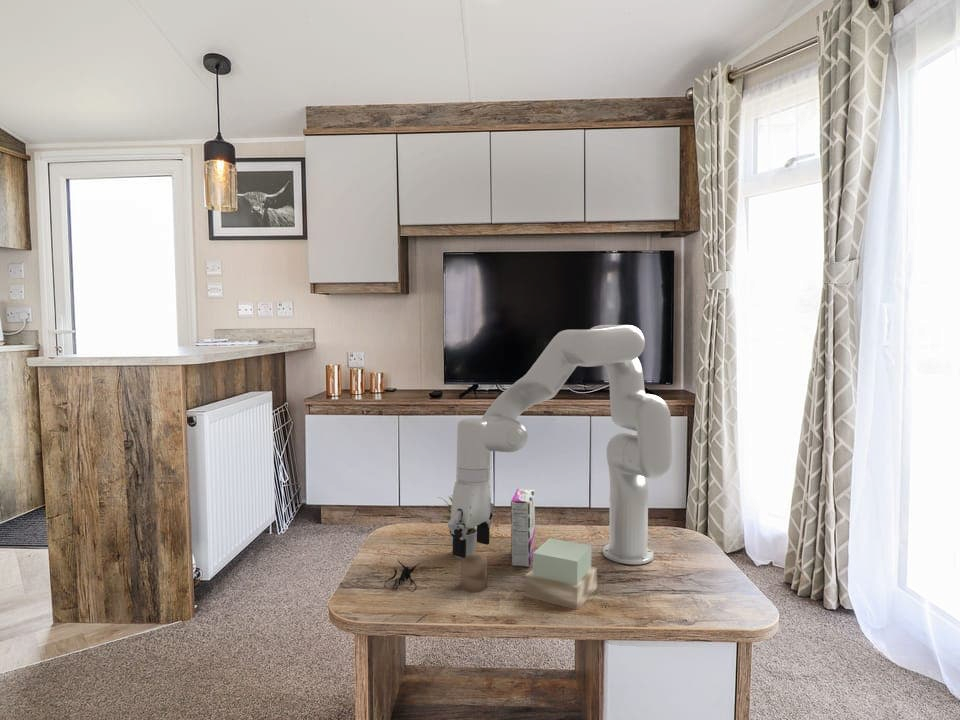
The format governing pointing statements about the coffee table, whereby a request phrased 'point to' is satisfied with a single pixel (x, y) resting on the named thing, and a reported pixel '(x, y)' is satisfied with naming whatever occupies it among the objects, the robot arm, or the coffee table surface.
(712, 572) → the coffee table surface
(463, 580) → the walnut cylinder
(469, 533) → the house plant
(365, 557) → the coffee table surface
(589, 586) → the tower base
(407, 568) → the creature
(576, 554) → the tower top
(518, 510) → the candy bar box
